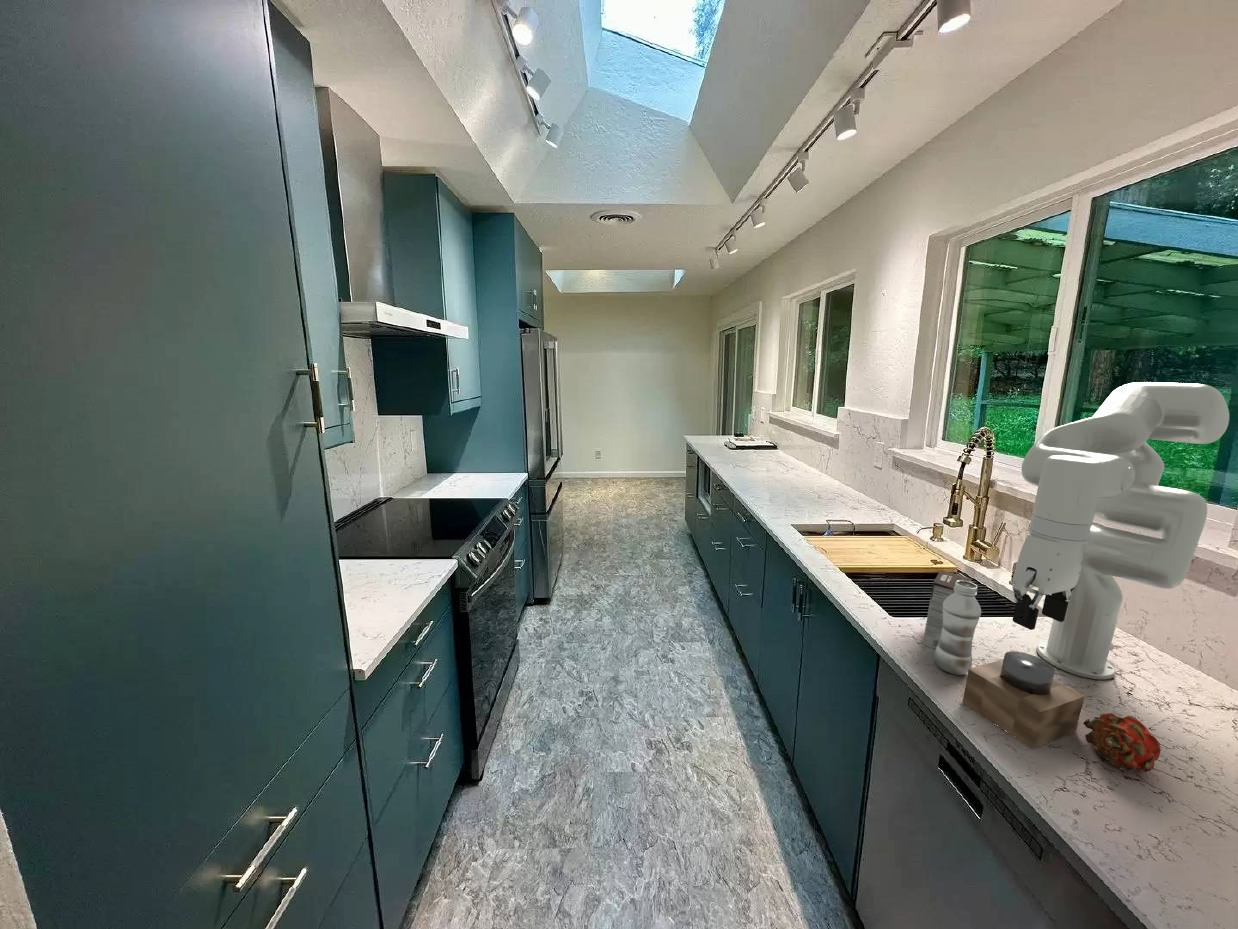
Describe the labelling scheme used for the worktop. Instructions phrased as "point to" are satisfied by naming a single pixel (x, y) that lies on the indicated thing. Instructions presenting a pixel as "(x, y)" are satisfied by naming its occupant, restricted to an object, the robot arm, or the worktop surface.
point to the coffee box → (939, 606)
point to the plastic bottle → (958, 629)
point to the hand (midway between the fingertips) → (1038, 621)
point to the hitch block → (1022, 706)
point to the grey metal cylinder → (1027, 673)
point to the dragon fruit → (1123, 742)
